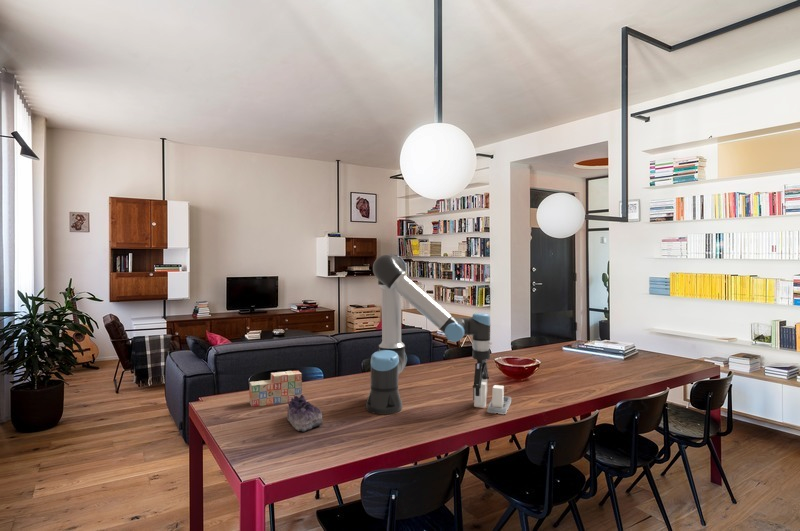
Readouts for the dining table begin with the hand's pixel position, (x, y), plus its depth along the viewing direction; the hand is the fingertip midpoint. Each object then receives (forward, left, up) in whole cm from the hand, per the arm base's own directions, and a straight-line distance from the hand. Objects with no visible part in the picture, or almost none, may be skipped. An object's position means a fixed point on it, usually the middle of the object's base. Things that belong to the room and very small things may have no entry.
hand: (480, 398), depth 203 cm
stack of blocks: (-29, +84, -4) cm, 89 cm away
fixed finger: (-3, -8, -3) cm, 9 cm away
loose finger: (0, 0, -3) cm, 3 cm away
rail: (+2, -8, -3) cm, 9 cm away
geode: (-47, +60, -4) cm, 76 cm away
